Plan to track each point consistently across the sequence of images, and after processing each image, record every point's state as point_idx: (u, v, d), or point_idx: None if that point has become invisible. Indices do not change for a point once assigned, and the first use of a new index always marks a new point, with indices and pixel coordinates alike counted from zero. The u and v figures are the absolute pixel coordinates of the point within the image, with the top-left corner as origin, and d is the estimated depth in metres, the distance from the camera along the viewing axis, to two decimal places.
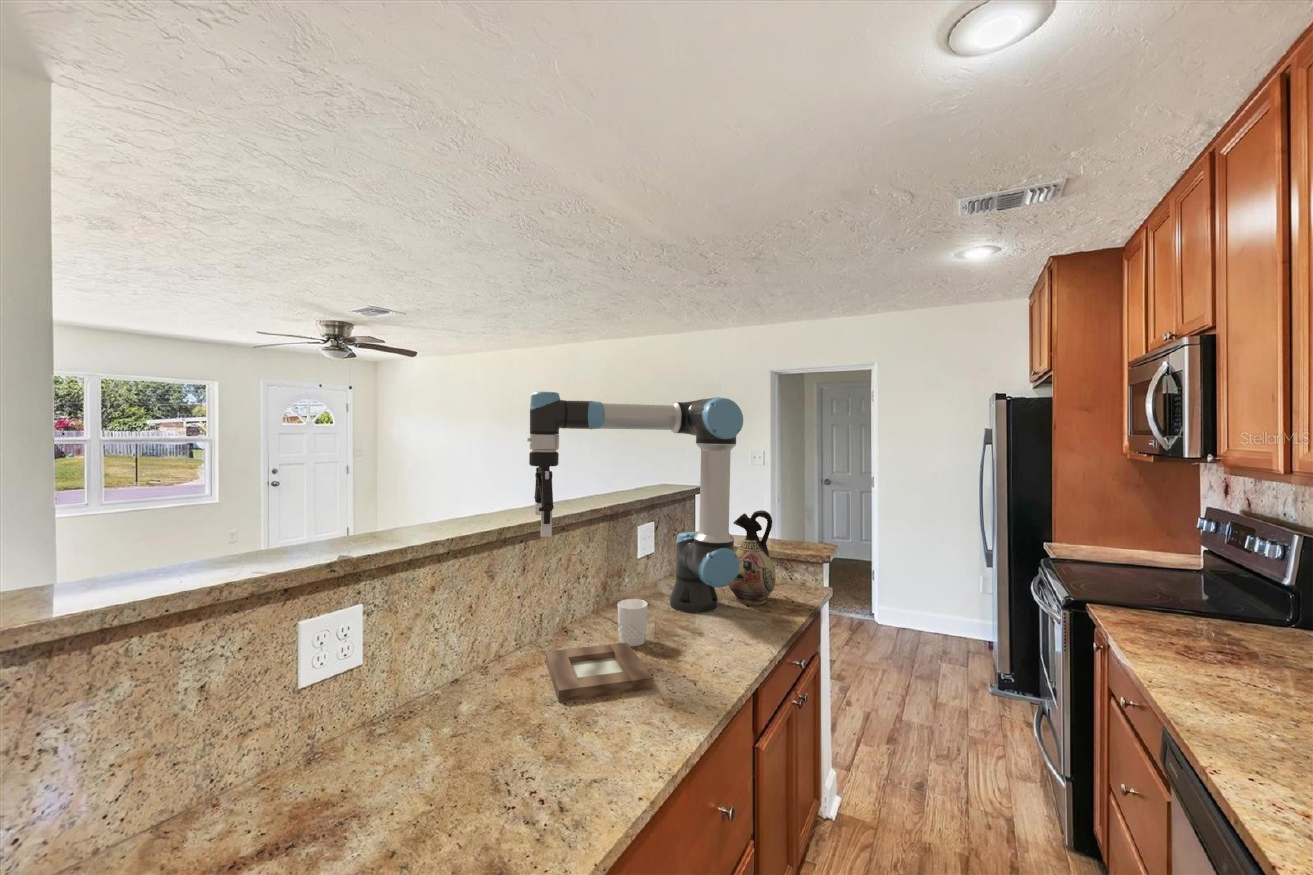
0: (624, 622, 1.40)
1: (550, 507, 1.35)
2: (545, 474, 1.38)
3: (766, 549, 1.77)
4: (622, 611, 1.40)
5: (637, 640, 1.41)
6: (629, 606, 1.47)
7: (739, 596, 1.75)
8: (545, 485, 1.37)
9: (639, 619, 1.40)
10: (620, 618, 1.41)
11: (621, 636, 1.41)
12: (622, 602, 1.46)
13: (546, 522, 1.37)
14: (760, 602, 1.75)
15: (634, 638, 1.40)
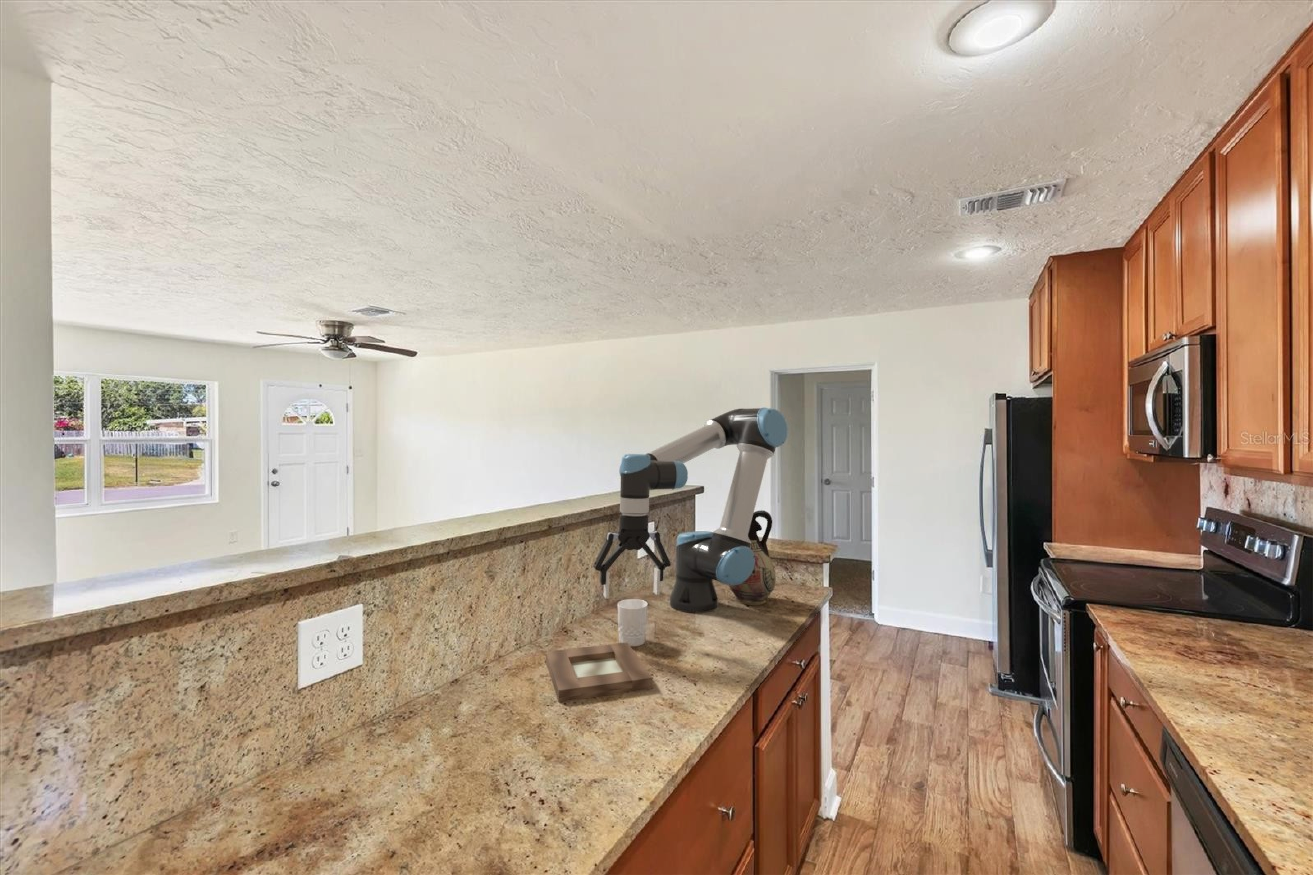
0: (624, 622, 1.40)
1: (594, 567, 1.39)
2: (607, 535, 1.41)
3: (766, 549, 1.77)
4: (622, 611, 1.40)
5: (637, 641, 1.41)
6: (629, 606, 1.47)
7: (739, 596, 1.75)
8: (603, 546, 1.41)
9: (639, 619, 1.40)
10: (620, 618, 1.41)
11: (621, 636, 1.41)
12: (622, 602, 1.46)
13: (600, 582, 1.41)
14: (760, 602, 1.75)
15: (634, 638, 1.40)
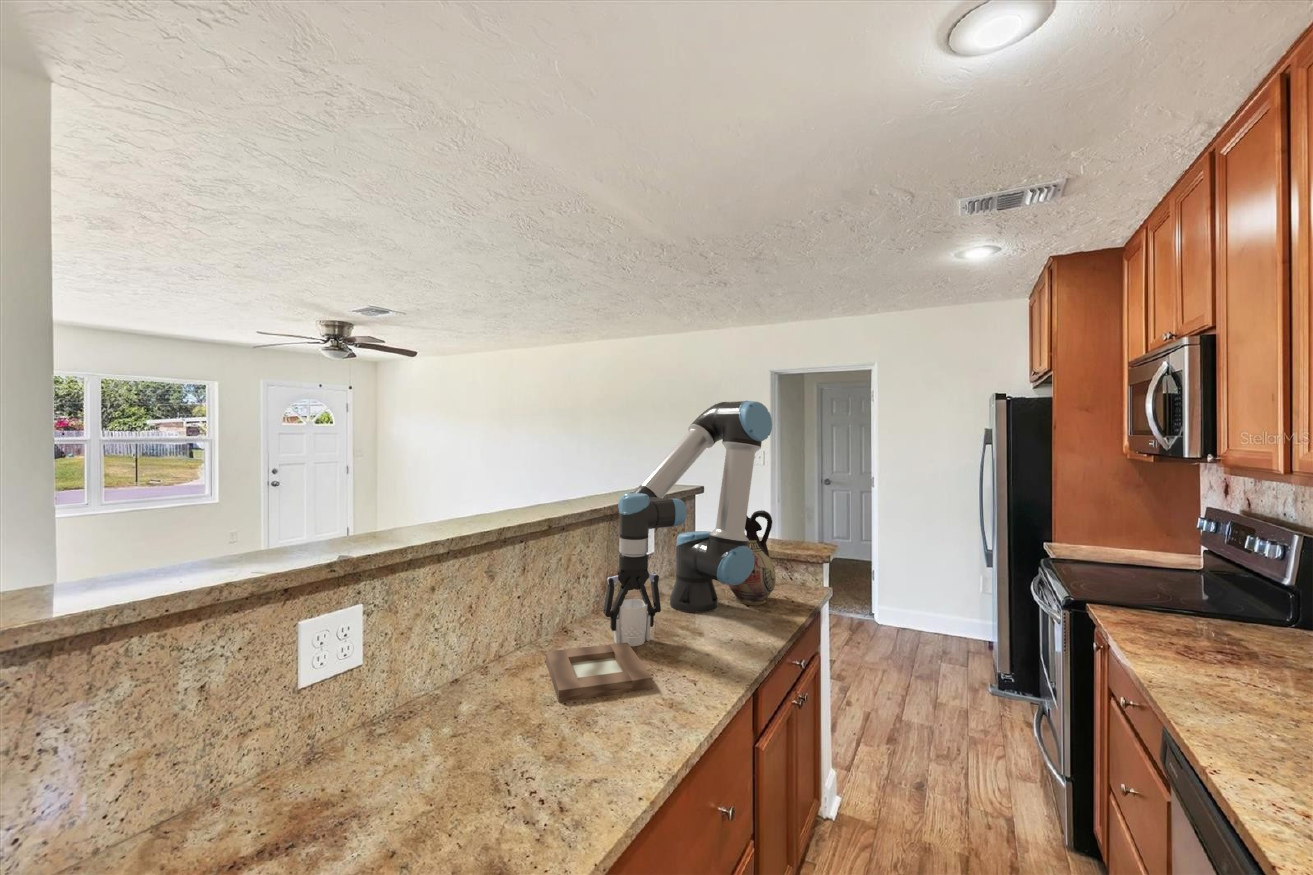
0: (624, 622, 1.40)
1: (605, 614, 1.40)
2: (607, 580, 1.41)
3: (766, 549, 1.77)
4: (622, 611, 1.40)
5: (637, 640, 1.41)
6: (629, 606, 1.47)
7: (739, 596, 1.75)
8: (607, 591, 1.42)
9: (639, 619, 1.40)
10: (620, 618, 1.41)
11: (621, 636, 1.41)
12: None
13: (611, 628, 1.42)
14: (760, 602, 1.75)
15: (634, 638, 1.40)
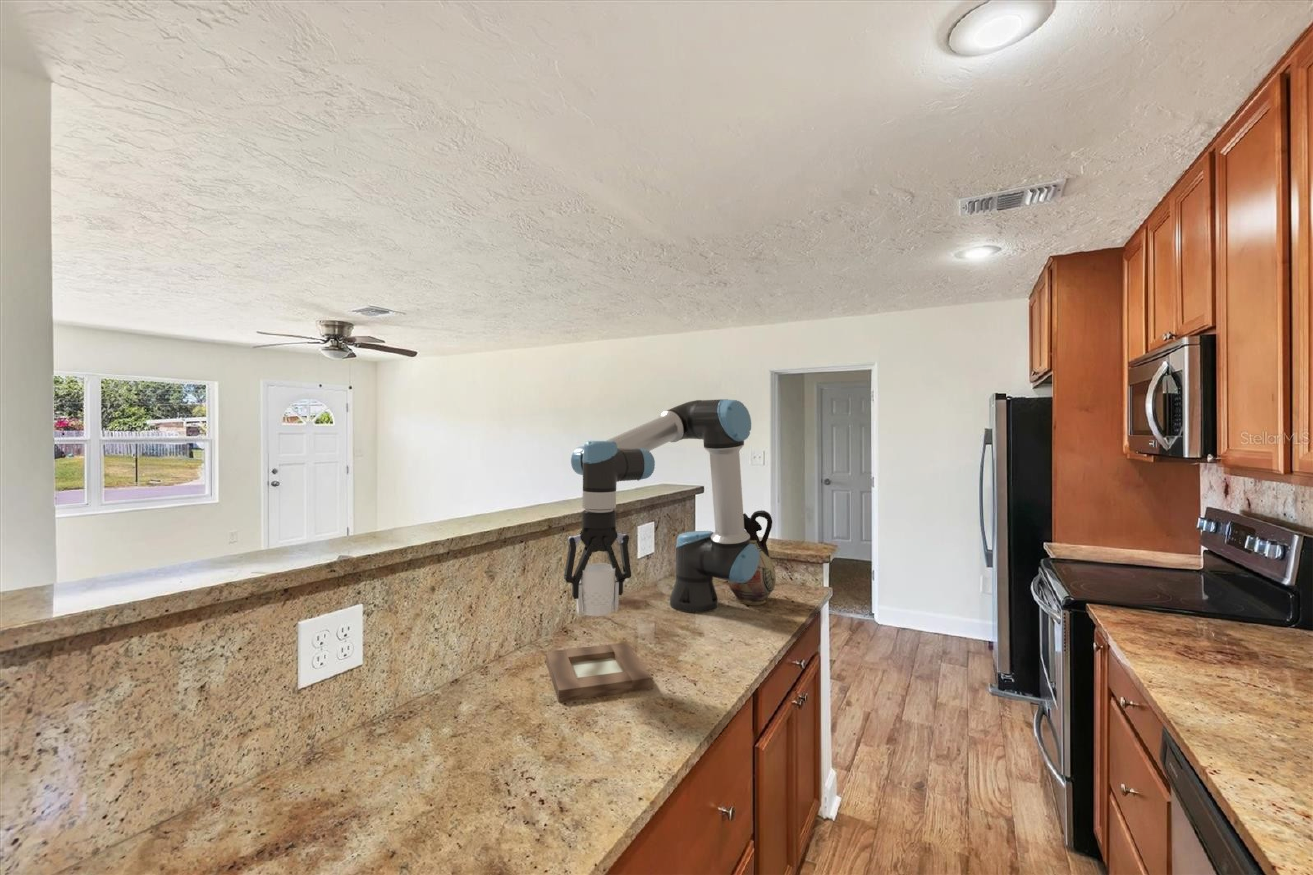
0: (587, 588, 1.21)
1: (565, 579, 1.21)
2: (568, 540, 1.22)
3: (766, 549, 1.77)
4: (585, 575, 1.21)
5: (602, 610, 1.21)
6: (595, 571, 1.27)
7: (739, 596, 1.75)
8: (568, 553, 1.22)
9: (605, 585, 1.21)
10: (583, 584, 1.22)
11: (584, 605, 1.22)
12: (586, 566, 1.26)
13: (572, 595, 1.22)
14: (760, 602, 1.75)
15: (599, 607, 1.21)
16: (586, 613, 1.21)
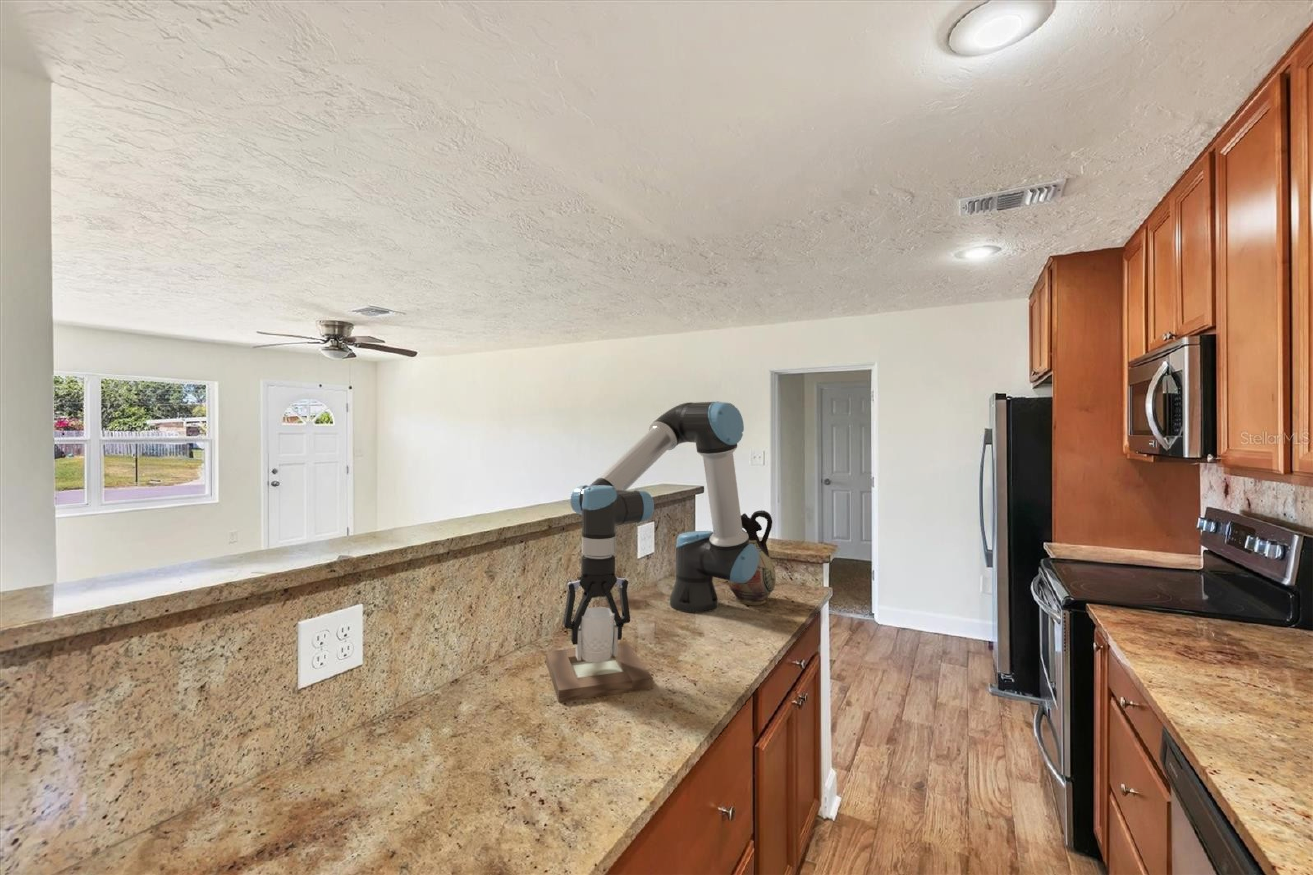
0: (586, 634, 1.21)
1: (564, 625, 1.21)
2: (567, 586, 1.22)
3: (766, 549, 1.77)
4: (584, 621, 1.21)
5: (601, 656, 1.21)
6: (594, 615, 1.27)
7: (739, 596, 1.75)
8: (567, 599, 1.22)
9: (604, 631, 1.21)
10: (582, 630, 1.22)
11: (583, 650, 1.22)
12: (586, 611, 1.26)
13: None
14: (760, 602, 1.75)
15: (598, 653, 1.21)
16: (585, 659, 1.22)
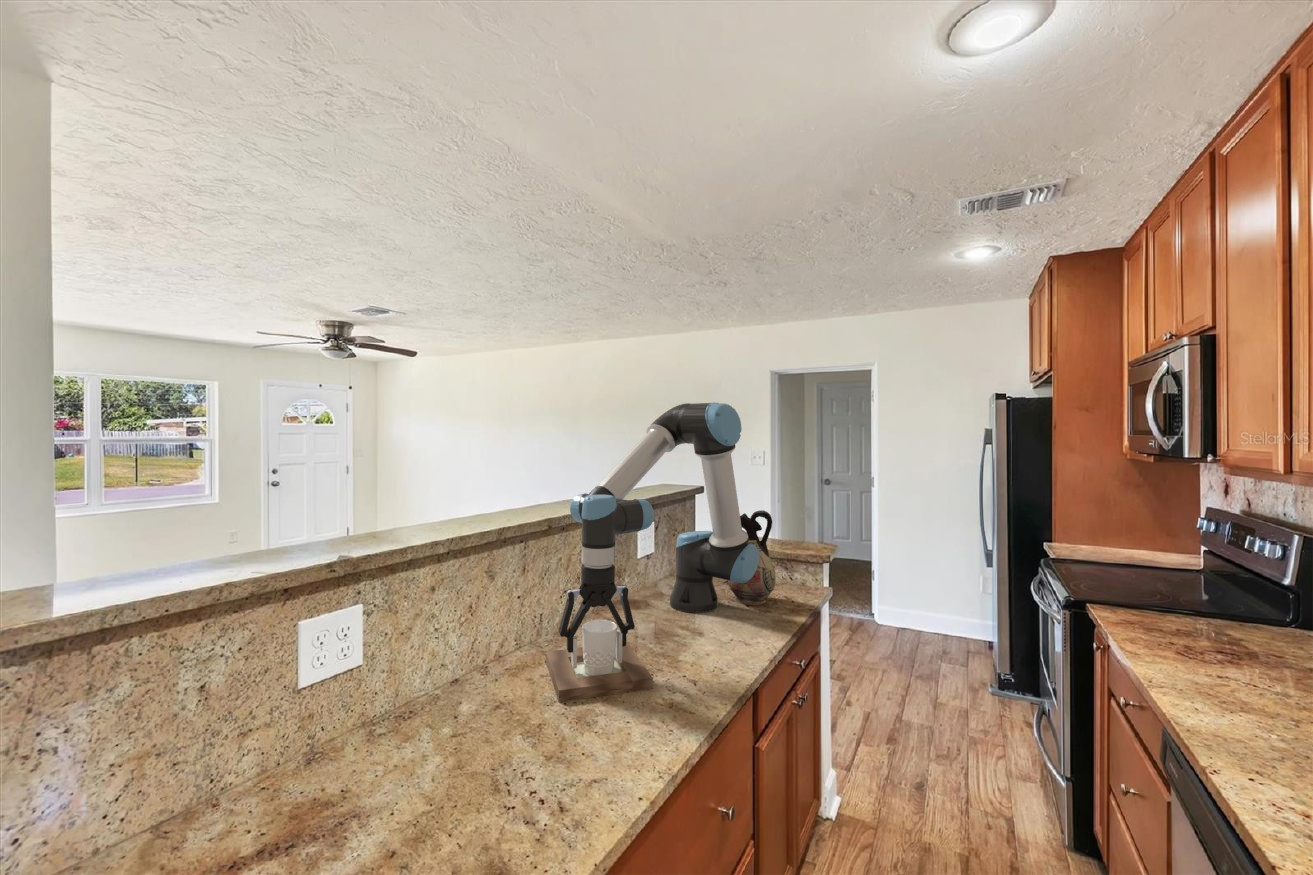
0: (589, 648, 1.21)
1: None
2: (567, 594, 1.22)
3: (766, 549, 1.77)
4: (587, 635, 1.21)
5: (604, 669, 1.21)
6: (596, 628, 1.28)
7: (739, 596, 1.75)
8: (565, 607, 1.22)
9: (606, 645, 1.21)
10: (584, 643, 1.22)
11: (586, 664, 1.22)
12: (588, 624, 1.27)
13: (567, 649, 1.22)
14: (760, 602, 1.75)
15: (600, 667, 1.21)
16: (588, 673, 1.22)
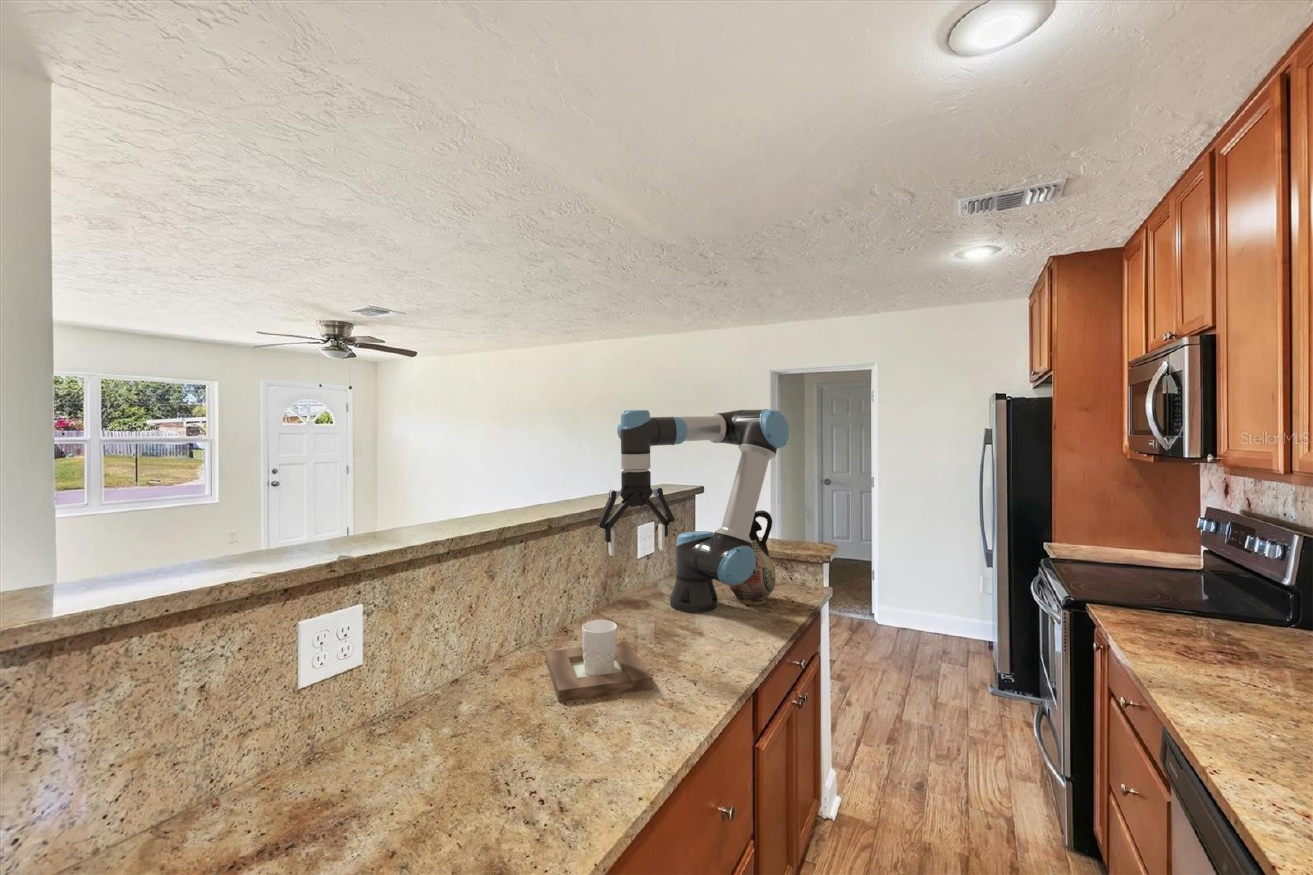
0: (589, 648, 1.21)
1: (599, 525, 1.38)
2: (610, 493, 1.40)
3: (766, 549, 1.77)
4: (587, 635, 1.21)
5: (604, 669, 1.21)
6: (596, 628, 1.28)
7: (739, 596, 1.75)
8: (607, 504, 1.40)
9: (606, 645, 1.21)
10: (584, 643, 1.22)
11: (586, 664, 1.22)
12: (588, 624, 1.27)
13: (605, 540, 1.40)
14: (760, 602, 1.75)
15: (600, 667, 1.21)
16: (588, 673, 1.22)
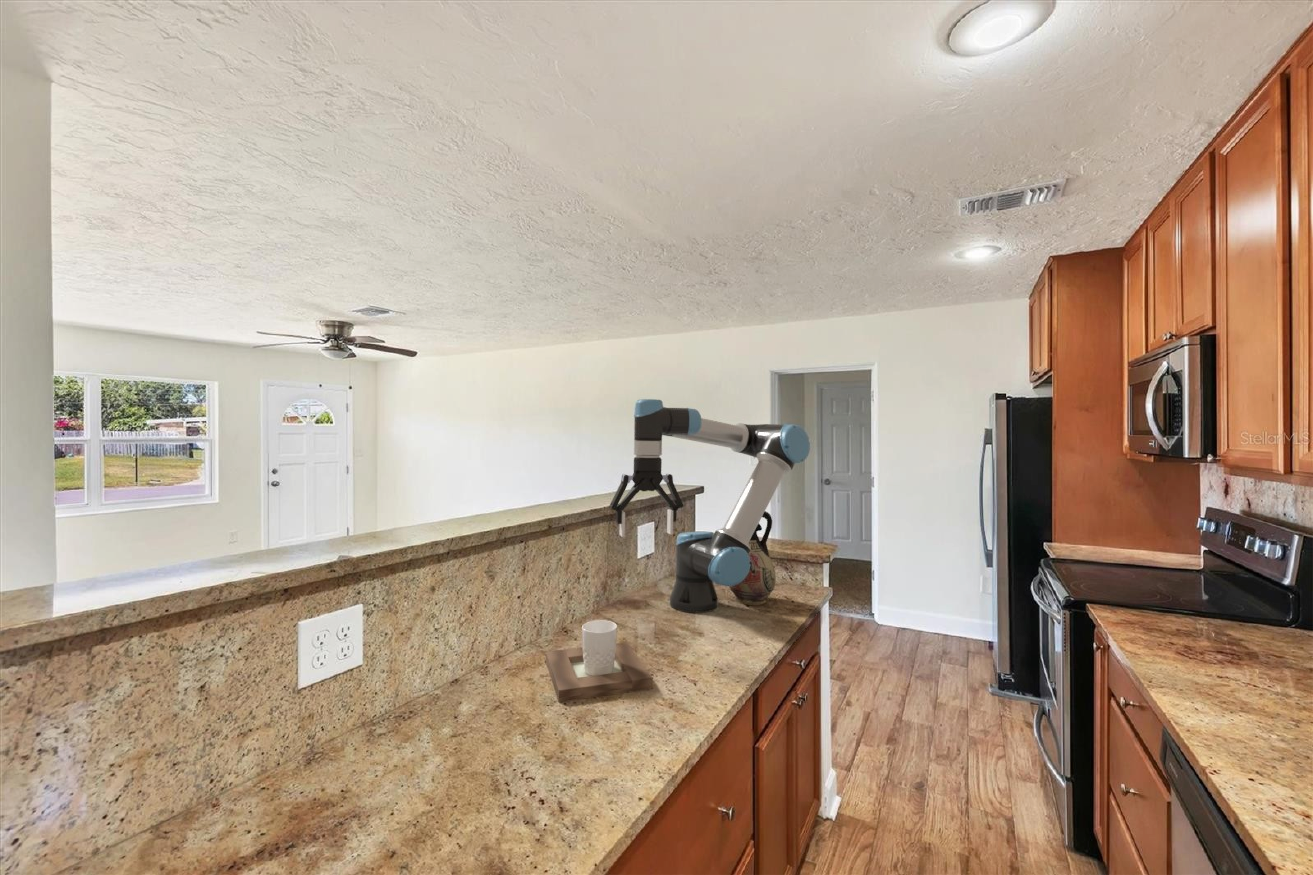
0: (589, 648, 1.21)
1: (611, 507, 1.45)
2: (622, 477, 1.47)
3: (766, 549, 1.77)
4: (587, 635, 1.21)
5: (604, 669, 1.21)
6: (596, 628, 1.28)
7: (739, 596, 1.75)
8: (619, 487, 1.47)
9: (606, 645, 1.21)
10: (584, 643, 1.22)
11: (586, 664, 1.22)
12: (588, 624, 1.27)
13: (616, 521, 1.47)
14: (760, 602, 1.75)
15: (600, 667, 1.21)
16: (588, 673, 1.22)
